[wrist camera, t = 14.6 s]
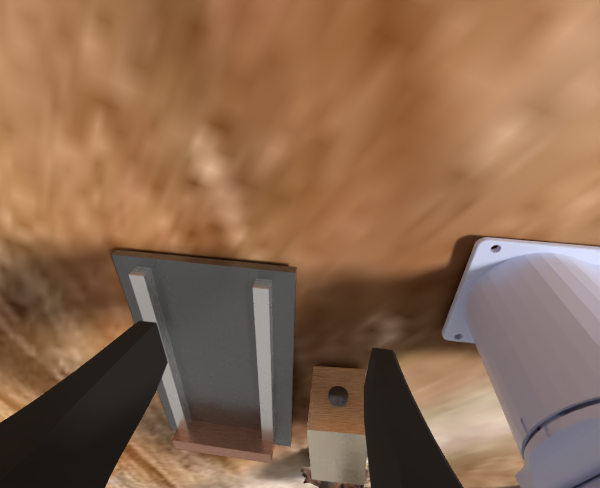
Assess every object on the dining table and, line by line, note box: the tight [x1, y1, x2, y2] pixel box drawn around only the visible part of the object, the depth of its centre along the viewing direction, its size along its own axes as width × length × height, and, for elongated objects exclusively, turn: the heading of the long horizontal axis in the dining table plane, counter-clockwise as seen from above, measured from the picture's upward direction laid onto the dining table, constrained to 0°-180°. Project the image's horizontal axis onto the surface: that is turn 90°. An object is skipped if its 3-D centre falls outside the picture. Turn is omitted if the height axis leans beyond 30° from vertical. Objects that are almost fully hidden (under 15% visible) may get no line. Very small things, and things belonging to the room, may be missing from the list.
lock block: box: [307, 366, 367, 485], centre depth 25 cm, size 4×7×5 cm, turn 4°
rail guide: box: [112, 250, 297, 463], centre depth 26 cm, size 12×21×3 cm, turn 178°
